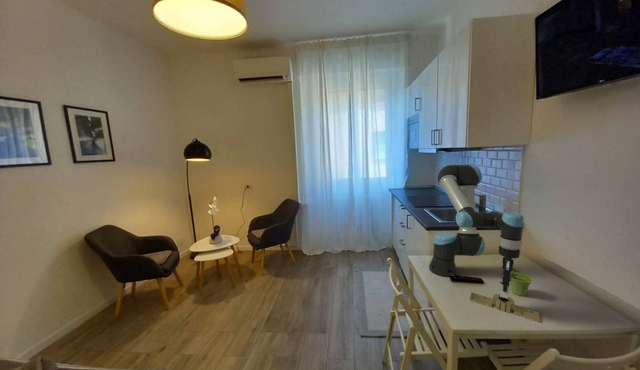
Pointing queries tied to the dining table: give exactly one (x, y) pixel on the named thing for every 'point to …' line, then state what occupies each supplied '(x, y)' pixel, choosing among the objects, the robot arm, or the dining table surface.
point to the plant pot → (519, 283)
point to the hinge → (505, 306)
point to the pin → (502, 297)
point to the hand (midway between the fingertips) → (504, 295)
